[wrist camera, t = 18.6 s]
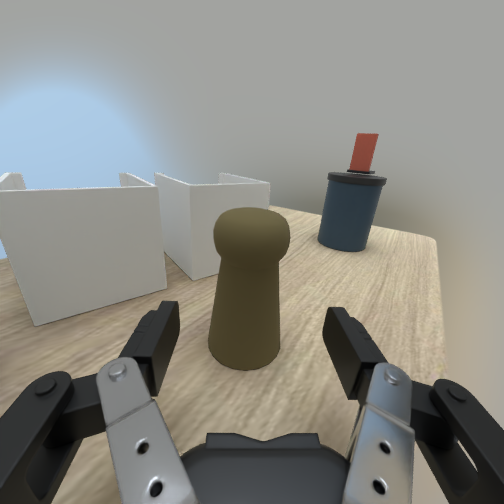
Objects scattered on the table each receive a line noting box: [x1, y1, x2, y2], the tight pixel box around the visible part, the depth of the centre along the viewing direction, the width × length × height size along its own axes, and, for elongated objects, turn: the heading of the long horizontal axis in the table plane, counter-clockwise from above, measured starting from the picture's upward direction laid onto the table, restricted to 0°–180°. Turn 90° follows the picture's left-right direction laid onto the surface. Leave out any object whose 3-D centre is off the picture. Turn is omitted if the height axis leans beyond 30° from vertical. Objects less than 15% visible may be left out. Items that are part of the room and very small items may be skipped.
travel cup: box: [318, 172, 387, 252], centre depth 41 cm, size 9×9×12 cm
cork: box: [208, 207, 290, 370], centre depth 17 cm, size 6×6×11 cm
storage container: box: [0, 173, 271, 327], centre depth 28 cm, size 25×11×11 cm, turn 128°
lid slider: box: [347, 133, 378, 174], centre depth 39 cm, size 4×4×6 cm
